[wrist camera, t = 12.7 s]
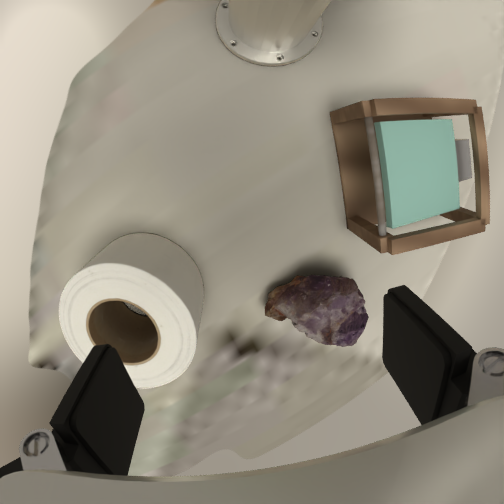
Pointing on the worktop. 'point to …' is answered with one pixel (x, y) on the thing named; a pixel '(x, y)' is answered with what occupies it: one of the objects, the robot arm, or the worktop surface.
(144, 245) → the toilet paper roll
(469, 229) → the frame
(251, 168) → the worktop surface
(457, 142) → the gray cube
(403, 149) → the trapdoor
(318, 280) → the rock
